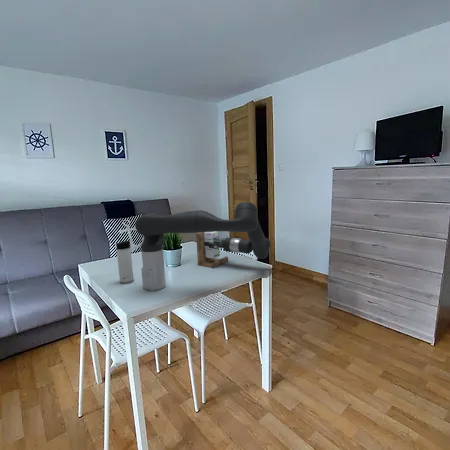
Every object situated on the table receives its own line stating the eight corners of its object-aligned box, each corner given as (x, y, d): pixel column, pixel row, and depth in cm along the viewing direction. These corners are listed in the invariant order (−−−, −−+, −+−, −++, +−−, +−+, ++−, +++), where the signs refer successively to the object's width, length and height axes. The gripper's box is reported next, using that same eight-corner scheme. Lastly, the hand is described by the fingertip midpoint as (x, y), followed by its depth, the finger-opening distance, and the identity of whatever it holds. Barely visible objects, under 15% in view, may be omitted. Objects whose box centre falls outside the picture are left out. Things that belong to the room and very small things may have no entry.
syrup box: (213, 258, 153) (211, 232, 150) (205, 257, 156) (203, 231, 154) (219, 256, 157) (218, 230, 155) (211, 254, 161) (210, 230, 158)
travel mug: (126, 285, 129) (122, 243, 126) (117, 282, 133) (112, 241, 129) (137, 280, 135) (133, 240, 131) (128, 278, 138) (124, 239, 135)
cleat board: (214, 268, 148) (212, 235, 145) (197, 265, 154) (196, 233, 151) (228, 261, 160) (226, 230, 157) (212, 258, 166) (211, 228, 163)
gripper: (240, 235, 153) (215, 233, 162) (226, 241, 141) (199, 238, 150) (240, 248, 154) (215, 246, 163) (227, 255, 142) (200, 252, 151)
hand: (208, 242), depth 157 cm, fingers closed on syrup box, 6 cm apart
